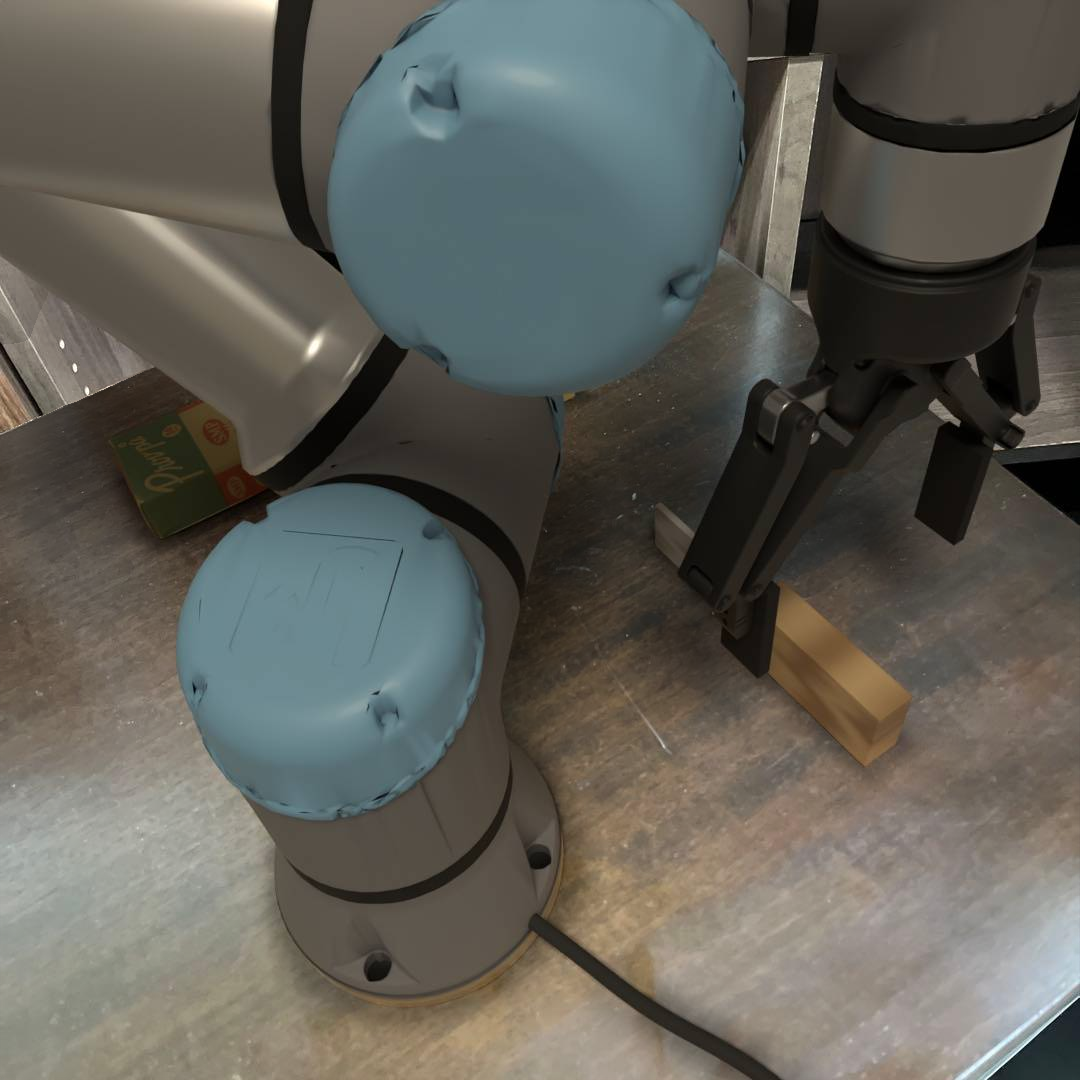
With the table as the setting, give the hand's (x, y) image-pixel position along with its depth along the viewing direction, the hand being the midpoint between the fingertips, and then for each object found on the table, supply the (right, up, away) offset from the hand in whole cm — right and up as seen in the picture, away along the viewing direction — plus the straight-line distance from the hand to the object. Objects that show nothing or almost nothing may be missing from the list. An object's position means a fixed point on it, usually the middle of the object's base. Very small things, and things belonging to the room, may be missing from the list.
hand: (845, 590), depth 51 cm
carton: (-39, +8, +25) cm, 47 cm away
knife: (-2, -4, +10) cm, 11 cm away
